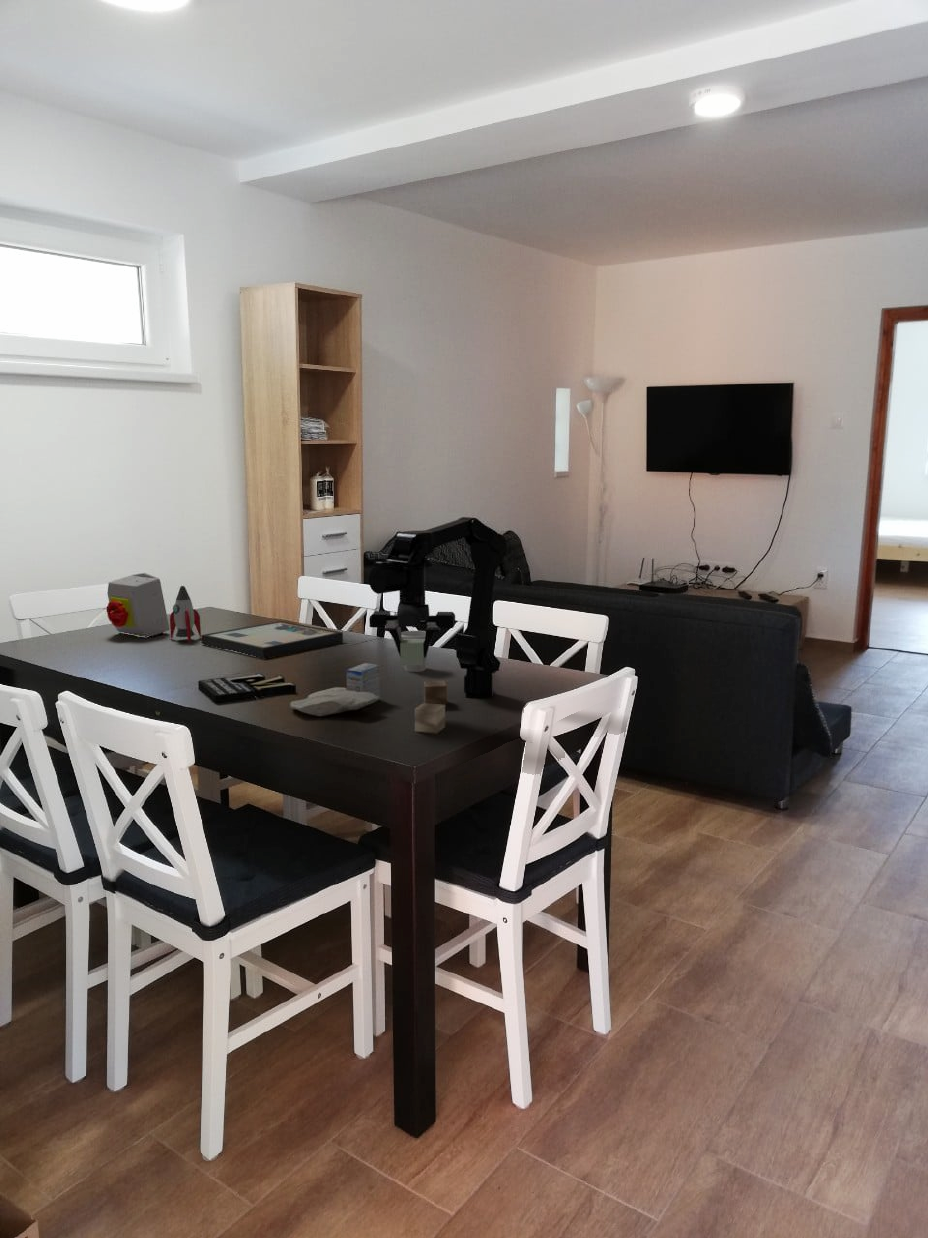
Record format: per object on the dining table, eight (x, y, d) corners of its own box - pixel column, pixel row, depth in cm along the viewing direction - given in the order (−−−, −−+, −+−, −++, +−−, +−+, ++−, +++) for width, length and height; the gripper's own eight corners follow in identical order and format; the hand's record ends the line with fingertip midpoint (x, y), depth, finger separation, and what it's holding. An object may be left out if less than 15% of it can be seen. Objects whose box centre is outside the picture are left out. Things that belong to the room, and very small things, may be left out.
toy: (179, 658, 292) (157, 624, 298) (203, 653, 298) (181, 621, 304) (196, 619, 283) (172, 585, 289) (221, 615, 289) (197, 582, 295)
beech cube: (445, 727, 203) (444, 705, 202) (436, 733, 198) (436, 711, 197) (423, 725, 205) (423, 702, 204) (414, 731, 200) (414, 709, 199)
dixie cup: (397, 666, 258) (397, 631, 257) (427, 665, 260) (427, 629, 258) (402, 673, 250) (401, 637, 249) (432, 672, 252) (432, 635, 250)
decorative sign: (197, 680, 236) (274, 671, 245) (198, 690, 236) (274, 680, 246) (215, 696, 221) (296, 685, 231) (216, 706, 222) (297, 695, 231)
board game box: (342, 632, 290) (263, 648, 267) (343, 644, 291) (263, 661, 268) (280, 620, 310) (201, 635, 287) (280, 632, 310) (202, 647, 288)
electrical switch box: (103, 642, 302) (90, 583, 296) (142, 628, 313) (130, 571, 307) (131, 648, 293) (118, 587, 287) (170, 633, 305) (159, 574, 299)
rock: (330, 730, 202) (384, 710, 212) (327, 709, 202) (381, 690, 211) (277, 717, 218) (329, 699, 228) (273, 698, 217) (326, 680, 227)
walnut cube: (444, 701, 224) (444, 680, 223) (446, 706, 219) (446, 685, 218) (423, 701, 223) (423, 681, 222) (425, 707, 218) (425, 686, 218)
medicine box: (364, 697, 227) (363, 662, 225) (380, 699, 225) (379, 664, 223) (346, 705, 220) (345, 669, 218) (363, 708, 218) (362, 671, 216)
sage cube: (425, 660, 214) (425, 638, 213) (423, 665, 209) (422, 643, 208) (403, 660, 214) (403, 638, 213) (400, 665, 209) (400, 643, 208)
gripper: (364, 593, 201) (365, 664, 204) (450, 594, 200) (451, 666, 203) (373, 586, 212) (374, 653, 215) (455, 586, 211) (455, 654, 214)
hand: (413, 657), depth 211 cm, fingers closed on sage cube, 5 cm apart
